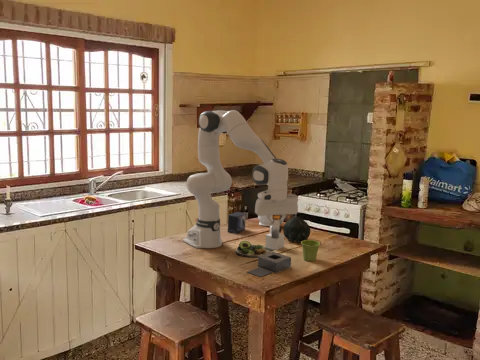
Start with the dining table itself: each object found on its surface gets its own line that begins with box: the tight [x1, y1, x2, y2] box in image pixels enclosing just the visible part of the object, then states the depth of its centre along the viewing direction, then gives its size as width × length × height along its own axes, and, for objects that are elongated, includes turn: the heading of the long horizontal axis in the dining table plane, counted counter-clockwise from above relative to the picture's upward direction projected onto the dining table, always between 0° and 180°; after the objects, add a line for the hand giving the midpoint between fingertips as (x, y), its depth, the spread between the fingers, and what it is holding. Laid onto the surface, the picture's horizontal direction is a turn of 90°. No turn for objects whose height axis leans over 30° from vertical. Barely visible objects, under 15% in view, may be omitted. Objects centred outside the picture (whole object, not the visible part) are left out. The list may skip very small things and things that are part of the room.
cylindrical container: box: [271, 215, 281, 239], centre depth 222 cm, size 4×4×11 cm
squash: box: [282, 216, 311, 243], centre depth 268 cm, size 14×15×15 cm
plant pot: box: [300, 239, 321, 262], centre depth 237 cm, size 9×9×9 cm
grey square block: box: [257, 251, 292, 274], centre depth 225 cm, size 11×11×5 cm
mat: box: [246, 267, 273, 278], centre depth 218 cm, size 8×8×1 cm
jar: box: [257, 215, 272, 227], centre depth 299 cm, size 11×10×15 cm
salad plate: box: [235, 240, 275, 258], centre depth 246 cm, size 19×18×5 cm
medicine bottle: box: [265, 225, 285, 251], centre depth 254 cm, size 7×7×12 cm
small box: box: [227, 211, 247, 234], centre depth 283 cm, size 11×6×10 cm, turn 150°
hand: (275, 223), depth 222 cm, fingers closed on cylindrical container, 4 cm apart
